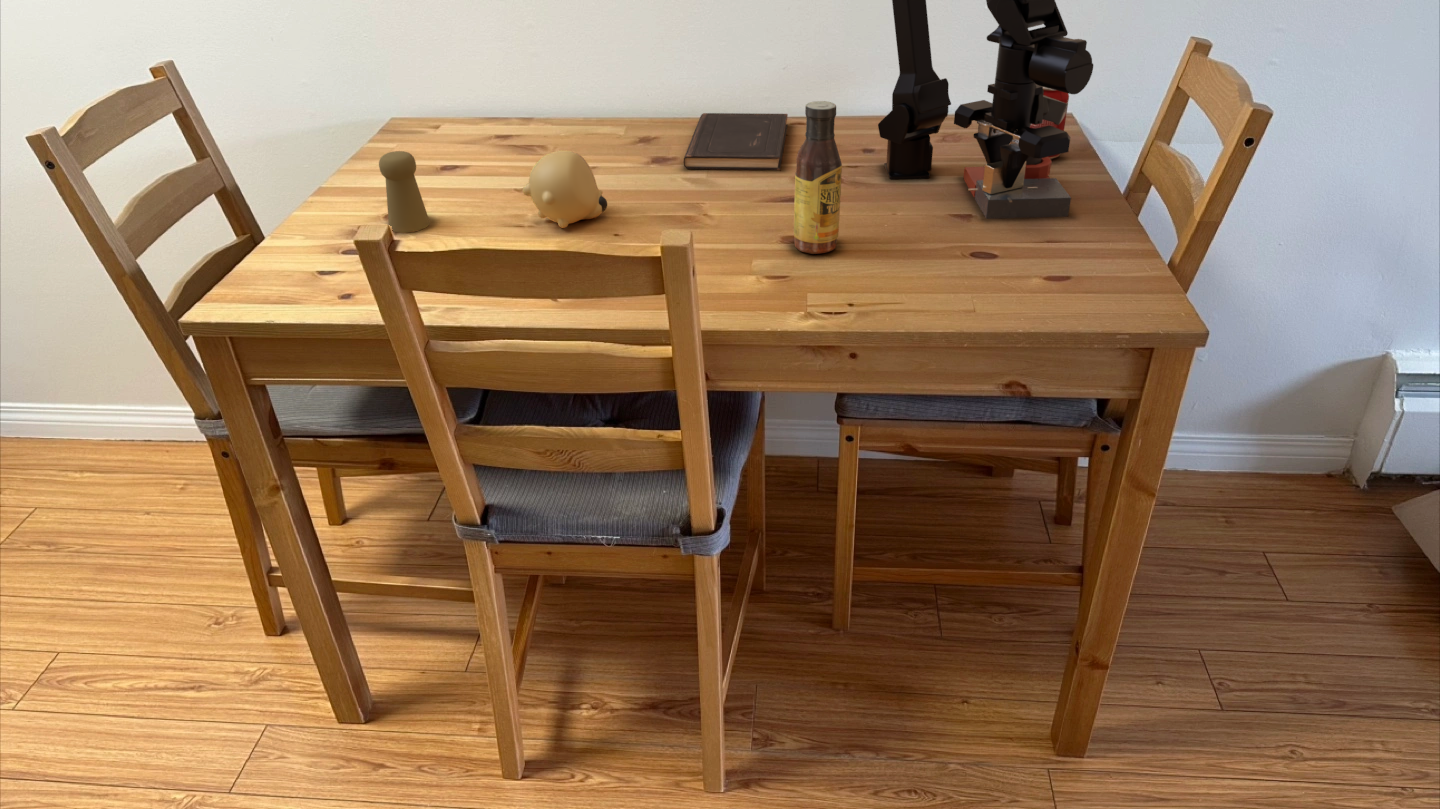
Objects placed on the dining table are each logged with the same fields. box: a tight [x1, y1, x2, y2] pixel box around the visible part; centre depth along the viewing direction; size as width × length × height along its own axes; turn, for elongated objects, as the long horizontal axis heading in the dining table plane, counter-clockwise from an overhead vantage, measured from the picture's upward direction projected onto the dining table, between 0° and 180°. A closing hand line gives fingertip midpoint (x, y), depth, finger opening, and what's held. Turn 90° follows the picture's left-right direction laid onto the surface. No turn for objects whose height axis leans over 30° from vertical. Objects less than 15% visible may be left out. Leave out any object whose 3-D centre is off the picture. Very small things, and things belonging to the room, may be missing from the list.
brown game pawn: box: [378, 150, 431, 234], centre depth 156 cm, size 6×6×11 cm
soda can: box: [1030, 87, 1070, 161], centre depth 173 cm, size 7×7×12 cm
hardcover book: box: [682, 112, 789, 171], centre depth 184 cm, size 16×23×2 cm
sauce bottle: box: [793, 100, 843, 255], centre depth 143 cm, size 7×6×20 cm
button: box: [1026, 156, 1042, 165], centre depth 164 cm, size 4×4×2 cm
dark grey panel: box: [967, 177, 1072, 220], centre depth 157 cm, size 14×10×3 cm
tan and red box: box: [982, 161, 1026, 194], centre depth 155 cm, size 6×2×4 cm, turn 116°
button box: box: [962, 157, 1053, 198], centre depth 164 cm, size 12×8×4 cm
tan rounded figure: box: [522, 149, 608, 229], centre depth 156 cm, size 10×12×11 cm
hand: (1003, 185), depth 156 cm, fingers closed on tan and red box, 2 cm apart
